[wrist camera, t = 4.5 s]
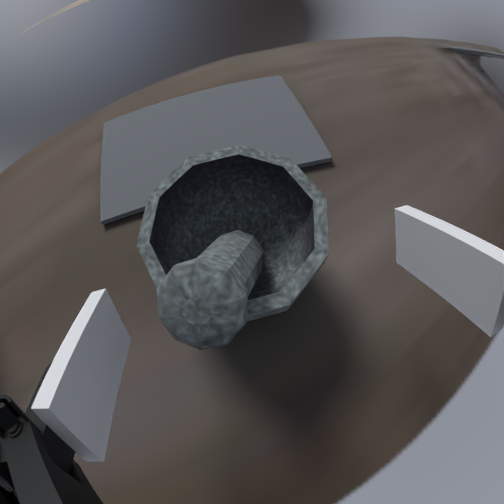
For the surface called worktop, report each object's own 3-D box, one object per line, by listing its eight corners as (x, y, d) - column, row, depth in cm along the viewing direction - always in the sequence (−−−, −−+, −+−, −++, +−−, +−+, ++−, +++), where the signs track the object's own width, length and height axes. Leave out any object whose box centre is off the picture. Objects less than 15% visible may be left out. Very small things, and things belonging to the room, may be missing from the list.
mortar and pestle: (187, 204, 23) (136, 81, 12) (307, 208, 22) (336, 77, 11) (166, 350, 19) (52, 322, 7) (306, 361, 18) (370, 353, 7)
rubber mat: (103, 224, 22) (100, 221, 22) (106, 126, 27) (104, 122, 27) (330, 161, 24) (332, 157, 23) (280, 79, 29) (280, 75, 28)
